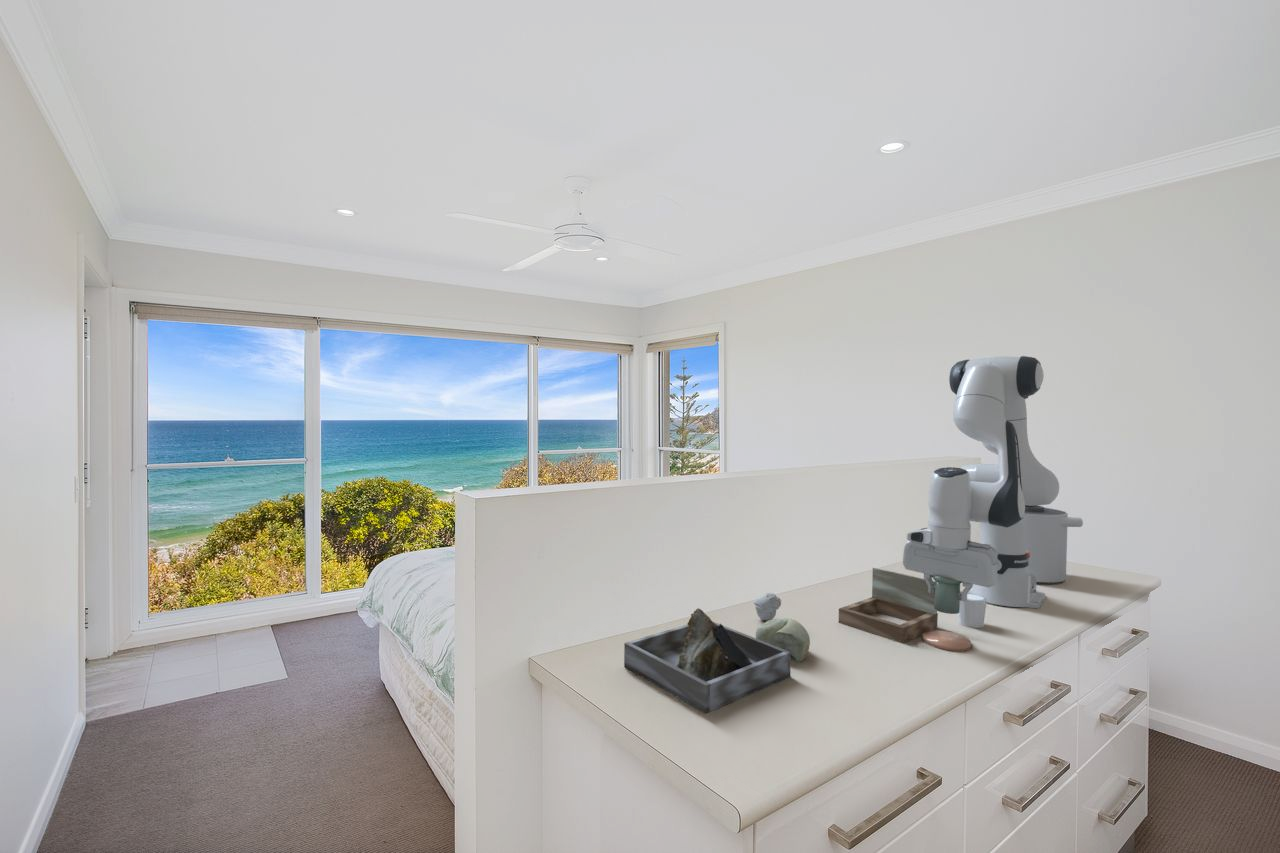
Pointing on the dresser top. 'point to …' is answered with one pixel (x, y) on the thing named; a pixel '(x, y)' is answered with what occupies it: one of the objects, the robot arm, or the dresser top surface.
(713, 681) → the display tray
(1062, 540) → the grey cooking pot
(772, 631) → the seashell
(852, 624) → the frame
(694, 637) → the mineral specimen
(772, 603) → the grey rock chunk
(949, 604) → the plant pot
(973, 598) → the shot glass
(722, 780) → the dresser top surface
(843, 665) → the dresser top surface
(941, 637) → the pink round part
